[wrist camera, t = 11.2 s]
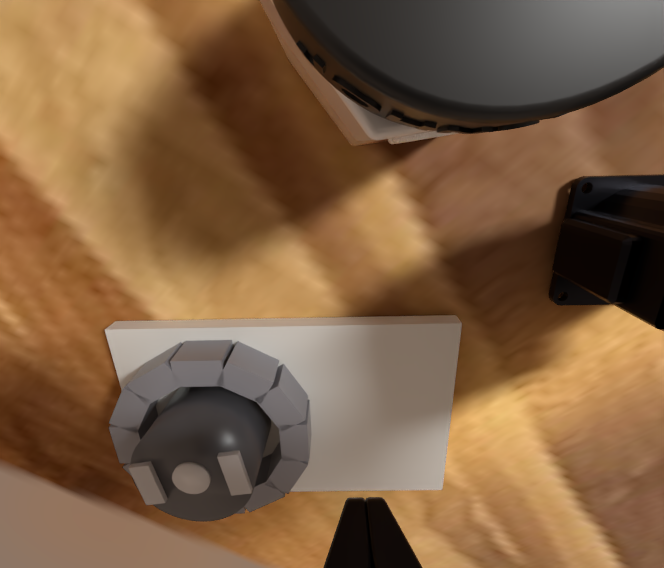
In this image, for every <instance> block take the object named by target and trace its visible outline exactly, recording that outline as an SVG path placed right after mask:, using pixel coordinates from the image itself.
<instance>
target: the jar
mask: <svg viewBox="0 0 664 568" xmlns="http://www.w3.org/2000/svg"><path fill="white" fill-rule="evenodd" d="M259 1H260V3H261V5H262V7H263V9H264V11H265V13H266V15H267V17H268V19H269V21H270V23H271V25H272V27H273V29H274V31H275V33H276V35H277V37H278V39H279V41H280V43H281V45H282V47H283V49H284V51H285V53H286V55H287V57H288V59H289V61H290V63H291V64H292V65H293V67H294V68H295V70H296V71H297V72H298V74H299V75H300V76H301V78H302V79H303V80H304V82H305V83H306V84H307V86H308V87H309V89H310V90H311V91H312V93H313V94H314V95H315V97H316V98H317V99H318V101H319V102H320V103H321V105H322V106H323V108H324V109H325V110H326V112H327V113H328V114H329V116H330V117H331V118H332V120H333V121H334V122H335V124H336V125H337V127H338V128H339V129H340V131H341V132H342V133H343V135H344V136H345V137H346V139H347V140H348V141H349V143H350V144H351V145H352V146H359V145H365V144H371V143H377V142H383V141H388V142H389V143H390V144H398V143H404V142H411V141H417V140H423V139H429V138H435V137H441V136H447V135H453V134H458V133H462V134H475V133H483V132H493V131H501V130H509V129H515V128H520V127H525V126H529V125H533V124H536V123H539V120H543V119H549V118H556V117H559V116H561V115H564V114H567V113H569V112H572V111H576V110H579V109H581V108H584V107H587V106H590V105H592V104H595V103H597V102H600V101H602V100H604V99H607V98H609V97H611V96H613V95H616V94H618V93H620V92H622V91H624V90H626V89H627V88H629V87H631V86H633V85H635V84H637V83H639V82H641V81H642V80H644V79H646V78H648V77H650V76H651V75H653V74H654V73H656V72H657V71H659V70H661V69H662V68H664V0H259Z"/></svg>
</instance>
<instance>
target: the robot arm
mask: <svg viewBox="0 0 664 568" xmlns="http://www.w3.org/2000/svg"><path fill="white" fill-rule="evenodd" d="M585 183H586V184H587V188H586V190H585V191H584V192H582V186H583V185H584V184H585ZM553 271H554V272H553V277H552V282H551V286H550V291H549V298H550V300H551V301H553V302H554V303H556V304H557V305H606V304H613V305H615V306H617V307H619V308H620V309H622V310H624V311H626V312H628V313H629V314H631V315H633V316H635V317H637V318H639V319H640V320H642V321H644V322H646V323H648V324H649V325H651V326H653V327H655V328H657V329H660V330H662V331H664V175H621V176H583V177H579V178H578V179H576V180H575V181H574V182H573V184H572V186H571V190H570V195H569V200H568V205H567V210H566V214H565V219H564V222H563V223H562V225H561V230H560V235H559V240H558V244H557V249H556V254H555V259H554V264H553ZM562 292H563V295H562V296H561V297H560V298H558V296H559V294H560V293H562ZM324 568H422V566H421V564H420V563H419V561H418V559H417V557H416V555H415V553H414V552H413V550H412V548H411V546H410V544H409V543H408V541H407V539H406V537H405V535H404V534H403V532H402V530H401V528H400V526H399V525H398V523H397V521H396V519H395V517H394V516H393V514H392V512H391V510H390V508H389V507H388V505H387V503H386V501H385V500H384V499H383V498H381V497H369V498H366V500H364V499H363V498H348V499H347V500H346V502H345V505H344V508H343V511H342V514H341V517H340V520H339V523H338V526H337V529H336V532H335V535H334V538H333V541H332V544H331V547H330V550H329V553H328V556H327V559H326V562H325V565H324Z"/></svg>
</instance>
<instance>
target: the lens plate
mask: <svg viewBox="0 0 664 568" xmlns="http://www.w3.org/2000/svg"><path fill="white" fill-rule="evenodd" d="M461 328H462V323H461V321H460V320H459V319H458V317H457V316H456V315H432V316H377V317H322V318H266V319H211V320H156V321H115V322H114V323H113V324H111V325H110V326H109V327H107V328H106V329H105V333H106V336H107V340H108V344H109V347H110V351H111V354H112V358H113V361H114V365H115V369H116V372H117V376H118V379H119V383H120V386H121V390H122V392H121V394H120V397H119V399H118V402H117V404H116V406H115V409H114V411H113V414H112V416H111V419H110V421H109V423H110V424H111V425H110V427H109V430H110V434H111V437H112V440H113V443H114V447H115V450H116V453H117V456H118V459H119V463H125V464H124V466H123V467H122V468H124V469H125V470H126V471H127V472H128V473H129V474H130V475H131V473H130V471H129V469H128V468H129V466H130V463H131V457H132V454H133V451H134V449H135V447H136V446H137V445H138V443H139V442H140V440H141V439H142V438H143V436H144V435H145V434H146V432H147V431H148V430H149V428H150V427H151V425H152V424H153V423H154V421H155V420H156V419H157V417H158V416H159V415H160V413H161V412H162V410H163V409H164V408H165V406H166V405H167V404H168V402H169V401H170V400H171V398H172V397H173V395H174V394H175V393H176V391H177V390H178V389H179V388H180V387H204V386H221V387H223V388H225V389H228V390H230V391H232V392H235V393H237V394H239V395H241V396H244V397H246V398H248V399H251V400H253V401H255V402H257V403H258V404H259V405H260V407H261V408H262V409H263V410H264V411H265V413H266V414H267V415H268V416H269V417H270V419H271V428H270V432H269V436H268V439H267V443H266V447H265V450H264V454H263V457H262V461H261V464H260V468H259V472H258V475H257V479H256V482H255V486H254V489H253V493H252V495H251V498H250V499H249V501H248V502H247V504H246V505H245V506H244V507H243V508H242V509H241V510H239V511H238V512H237V513H245V510H246V509H247V510H248V511H249V512H251V511H254V510H256V509H258V508H260V507H263V506H265V505H267V504H269V503H272V502H274V501H276V500H278V499H280V498H283V497H285V493H287V494H288V493H289V492H299V491H387V490H442V488H443V480H444V471H445V463H446V454H447V446H448V438H449V429H450V421H451V412H452V404H453V395H454V387H455V379H456V370H457V362H458V353H459V345H460V336H461ZM131 476H132V475H131Z"/></svg>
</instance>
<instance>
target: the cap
mask: <svg viewBox="0 0 664 568" xmlns="http://www.w3.org/2000/svg"><path fill="white" fill-rule="evenodd" d="M270 428H271V419H270V417H269V416H268V415H267V414H266V413H265V411H264V410H263V409H262V408H261V407H260V405H259V404H258V403H257V402H255V401H253V400H251V399H248V398H246V397H244V396H241V395H239V394H237V393H235V392H232V391H230V390H228V389H225V388H223V387H221V386H204V387H180V388H179V389H178V390H177V391H176V393H175V394H174V395H173V397H172V398H171V400H170V401H169V402H168V404H167V405H166V406H165V408H164V409H163V410H162V412H161V413H160V415H159V416H158V417H157V419H156V420H155V421H154V423H153V424H152V425H151V427H150V428H149V430H148V431H147V432H146V434H145V435H144V436H143V438H142V439H141V440H140V442H139V443H138V445H137V446H136V447H135V449H134V451H133V454H132V457H131V463H130V466H129V468H128V469H129V471H130V473H131V475H132V478H133V480H134V483H135V485H136V487H137V488H138V490H139V491H140V493H141V495H142V497H143V499H144V502H145V504H146V505H154V506H155V507H157V508H158V509H160V510H162V511H164V512H165V513H168V514H170V515H172V516H175V517H178V518H181V519H186V520H191V521H214V520H219V519H223V518H226V517H229V516H231V515H233V514H235V513H237V512H238V511H239V510H241V509H242V508H243V507H244V506H245V505H246V504H247V502H248V501H249V499H250V498H251V495H252V493H253V489H254V486H255V482H256V479H257V475H258V472H259V468H260V464H261V461H262V457H263V454H264V450H265V447H266V443H267V439H268V436H269V432H270Z"/></svg>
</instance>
